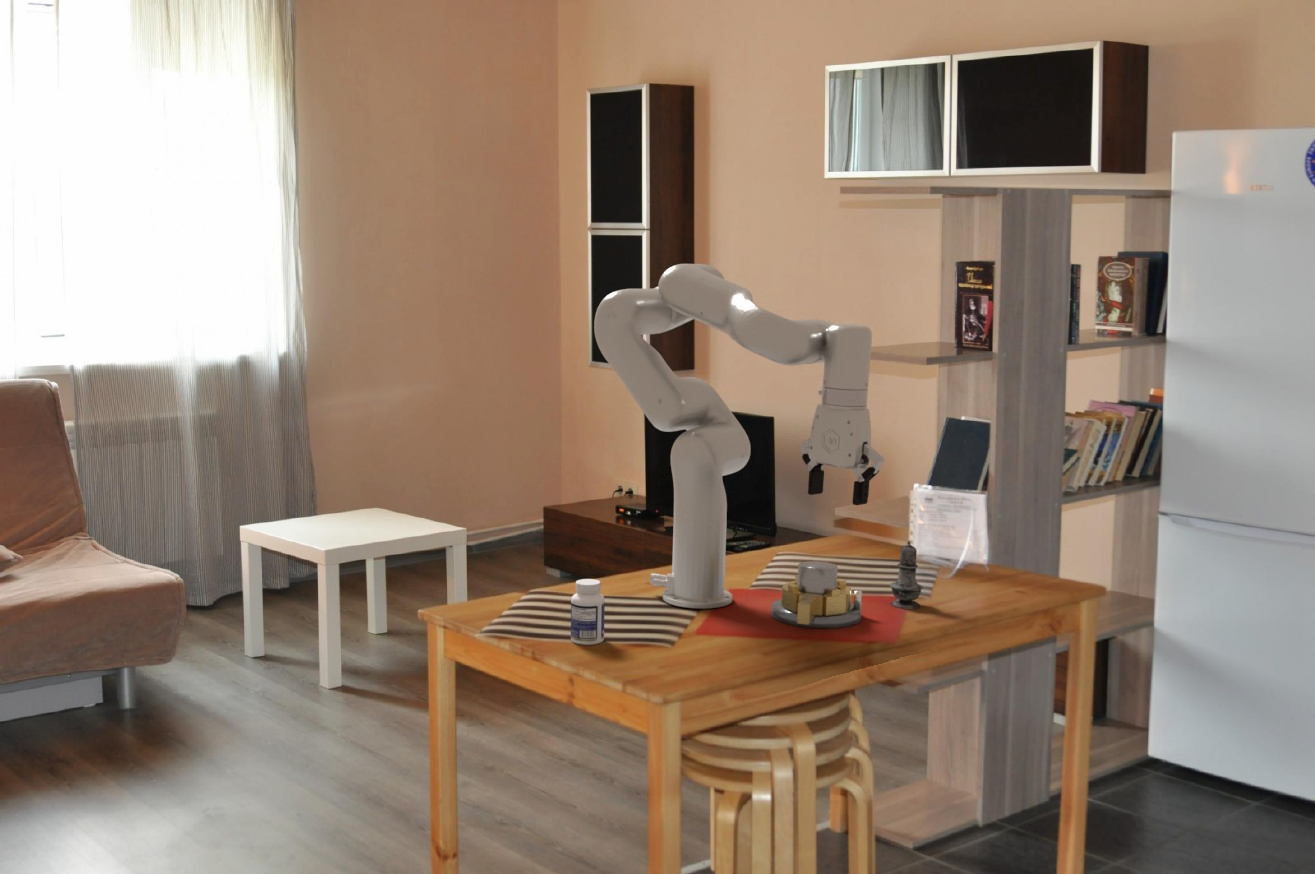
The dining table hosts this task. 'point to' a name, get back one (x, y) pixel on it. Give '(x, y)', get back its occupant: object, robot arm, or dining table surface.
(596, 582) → the pill bottle
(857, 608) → the spindle base
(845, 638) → the dining table surface
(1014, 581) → the dining table surface
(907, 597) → the salt shaker
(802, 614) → the ring nut
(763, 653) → the dining table surface
